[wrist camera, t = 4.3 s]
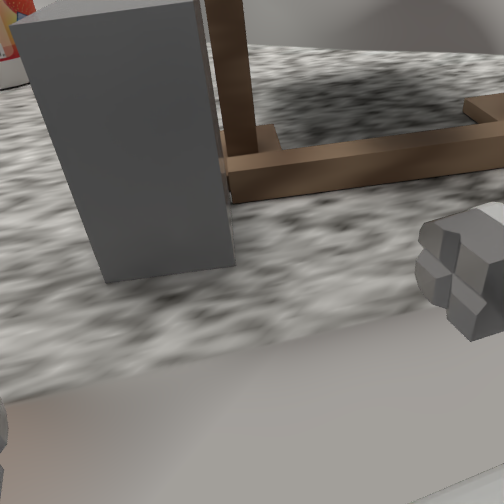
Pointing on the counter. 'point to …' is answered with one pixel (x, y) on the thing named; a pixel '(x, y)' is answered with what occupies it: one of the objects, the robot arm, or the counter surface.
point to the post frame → (336, 154)
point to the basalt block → (134, 130)
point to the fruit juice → (12, 42)
